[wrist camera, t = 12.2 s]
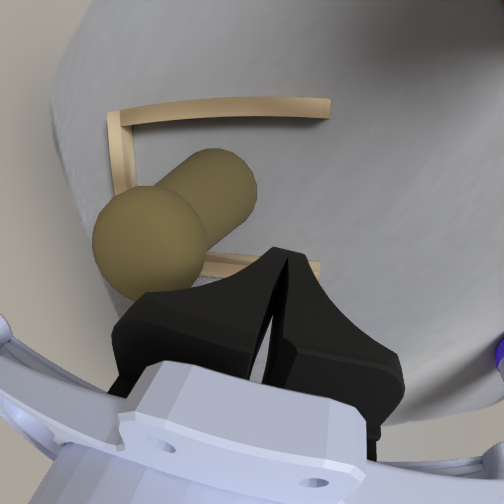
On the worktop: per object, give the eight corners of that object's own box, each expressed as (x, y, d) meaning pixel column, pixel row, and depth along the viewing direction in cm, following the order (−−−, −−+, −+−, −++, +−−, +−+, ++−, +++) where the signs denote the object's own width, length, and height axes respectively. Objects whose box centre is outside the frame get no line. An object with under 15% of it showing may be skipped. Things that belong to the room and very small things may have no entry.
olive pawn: (250, 238, 22) (195, 343, 12) (173, 221, 22) (82, 302, 13) (263, 155, 19) (203, 203, 9) (178, 143, 20) (66, 180, 10)
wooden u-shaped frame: (318, 276, 22) (317, 287, 20) (136, 257, 25) (127, 266, 23) (329, 100, 16) (330, 98, 15) (118, 111, 19) (106, 112, 18)
